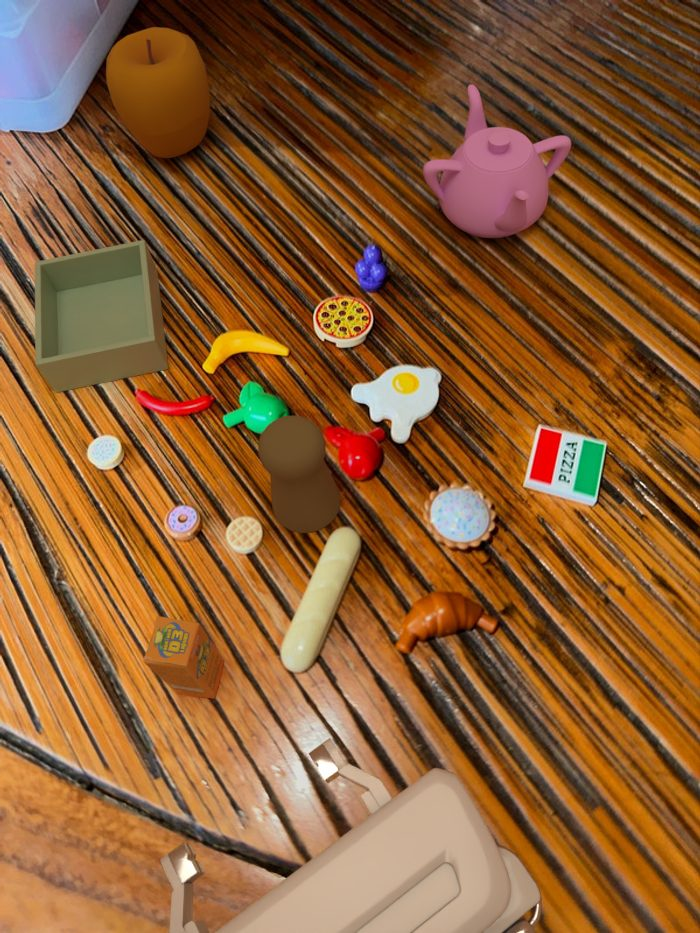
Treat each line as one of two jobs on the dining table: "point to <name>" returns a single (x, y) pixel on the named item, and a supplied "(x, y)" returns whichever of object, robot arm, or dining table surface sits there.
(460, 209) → the teapot
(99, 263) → the bin
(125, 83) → the apple
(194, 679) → the supplement box
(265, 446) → the cork
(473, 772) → the dining table surface
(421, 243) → the dining table surface
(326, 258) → the dining table surface
